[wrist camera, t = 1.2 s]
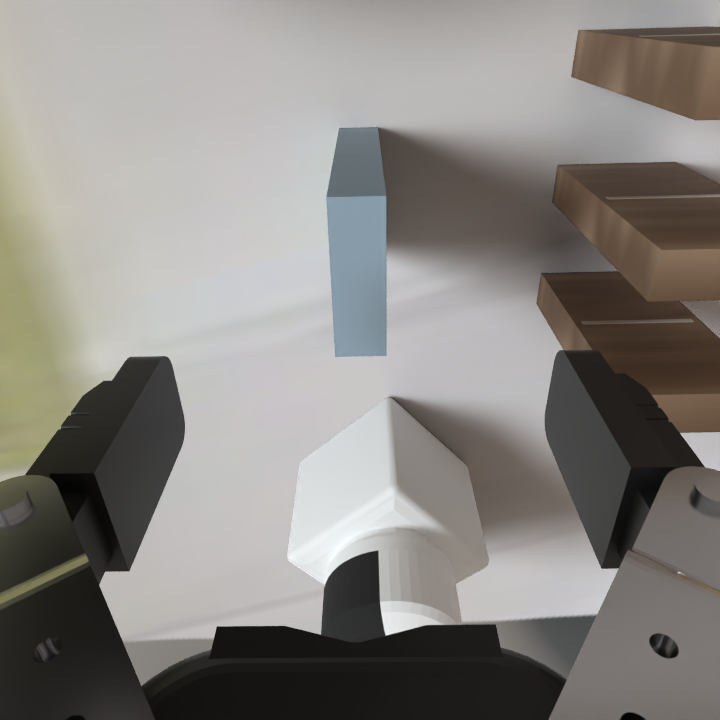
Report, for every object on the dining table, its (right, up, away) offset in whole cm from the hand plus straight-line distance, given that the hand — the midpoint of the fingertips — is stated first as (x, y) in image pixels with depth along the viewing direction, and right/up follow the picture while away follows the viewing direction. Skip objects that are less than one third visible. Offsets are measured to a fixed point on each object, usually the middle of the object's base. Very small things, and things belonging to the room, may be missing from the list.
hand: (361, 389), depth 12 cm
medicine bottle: (+1, -5, +22) cm, 22 cm away
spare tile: (0, +8, +13) cm, 15 cm away
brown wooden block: (+11, +4, +15) cm, 19 cm away
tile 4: (+11, +8, +13) cm, 19 cm away
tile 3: (+11, +13, +10) cm, 20 cm away
